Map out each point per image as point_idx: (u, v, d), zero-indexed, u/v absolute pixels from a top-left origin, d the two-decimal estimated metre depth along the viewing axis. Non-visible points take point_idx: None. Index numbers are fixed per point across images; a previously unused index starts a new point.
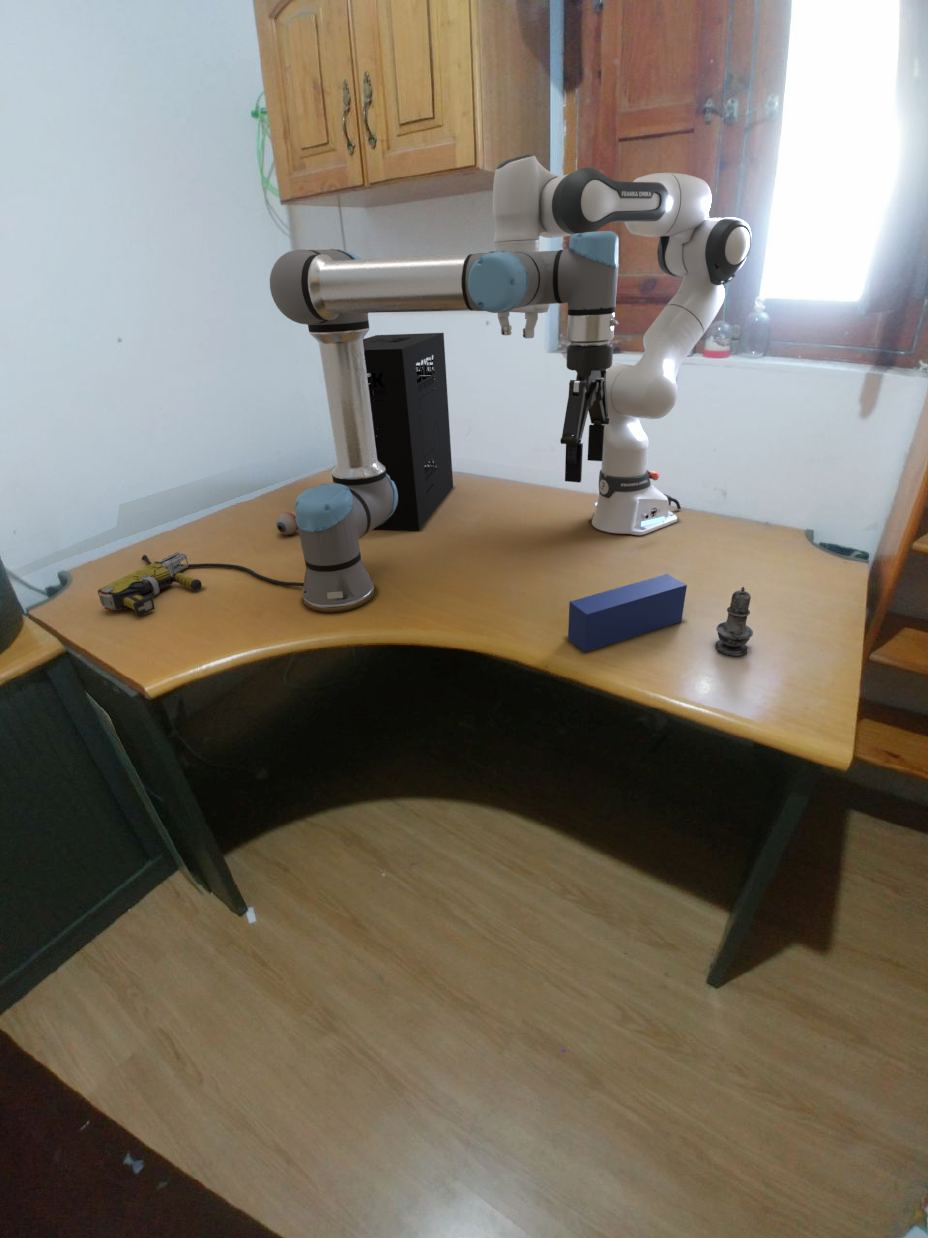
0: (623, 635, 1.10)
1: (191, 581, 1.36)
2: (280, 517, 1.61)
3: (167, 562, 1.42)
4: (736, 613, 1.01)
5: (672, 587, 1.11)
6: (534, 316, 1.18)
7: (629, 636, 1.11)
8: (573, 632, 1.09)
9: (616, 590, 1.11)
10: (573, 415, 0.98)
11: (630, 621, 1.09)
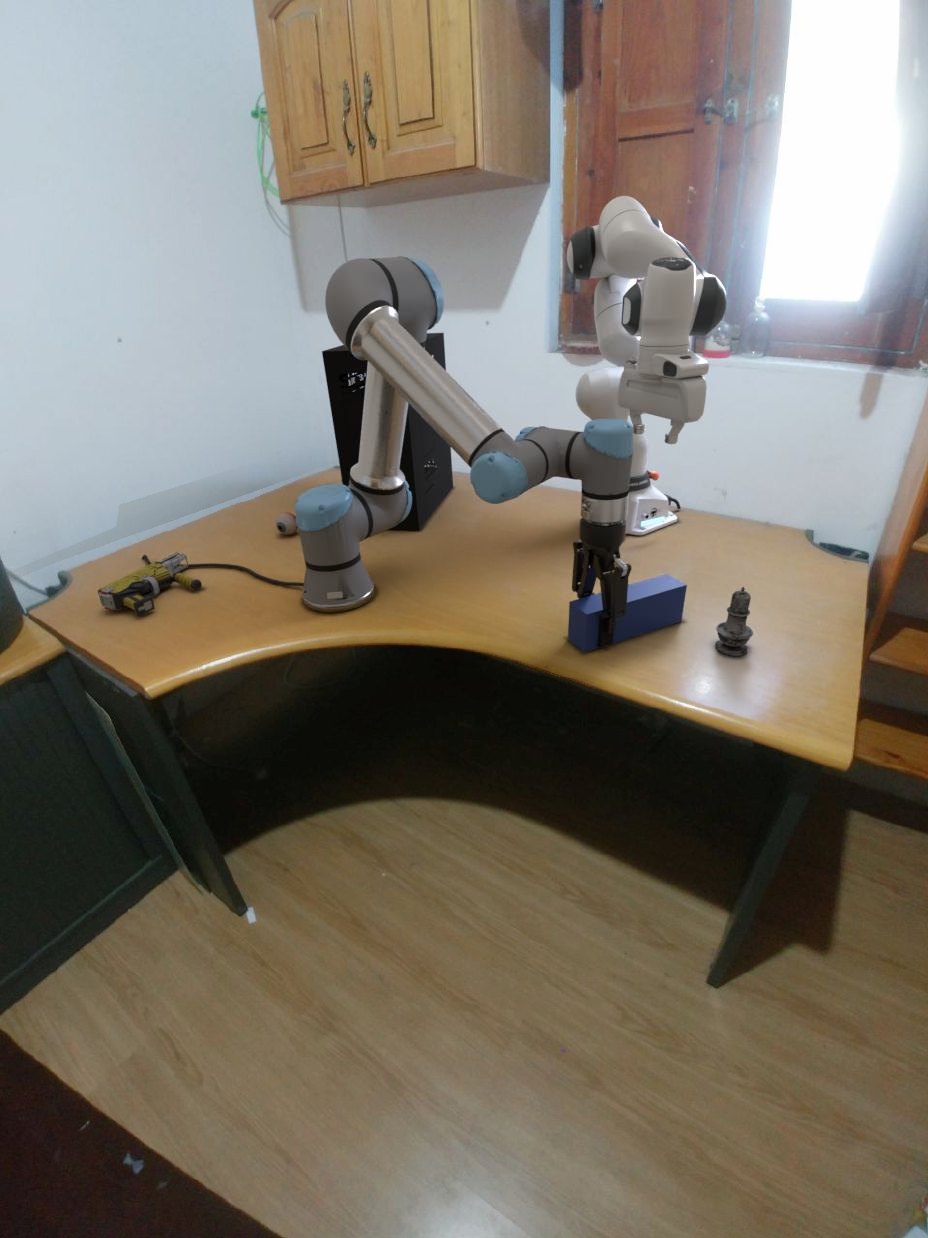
0: (623, 635, 1.10)
1: (191, 581, 1.36)
2: (280, 517, 1.61)
3: (167, 562, 1.42)
4: (736, 613, 1.01)
5: (672, 587, 1.11)
6: None
7: (629, 636, 1.11)
8: (573, 632, 1.09)
9: None
10: None
11: (630, 621, 1.09)
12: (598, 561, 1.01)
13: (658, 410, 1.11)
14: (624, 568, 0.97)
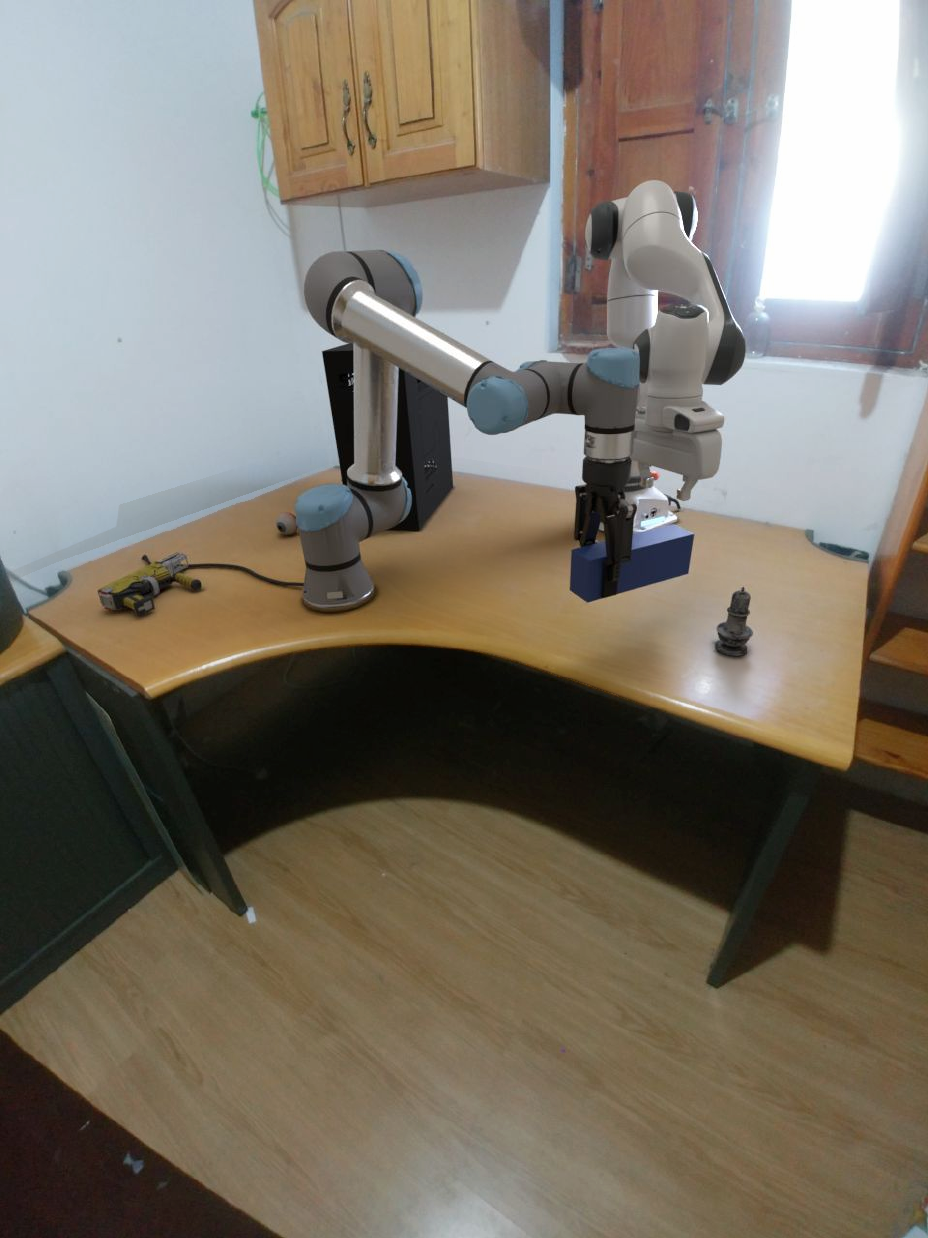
0: (627, 586, 1.05)
1: (191, 581, 1.36)
2: (280, 517, 1.61)
3: (167, 562, 1.42)
4: (736, 613, 1.01)
5: (679, 536, 1.05)
6: None
7: (634, 587, 1.06)
8: (575, 582, 1.04)
9: None
10: None
11: (635, 571, 1.04)
12: (602, 503, 0.95)
13: (669, 464, 1.02)
14: (630, 508, 0.92)
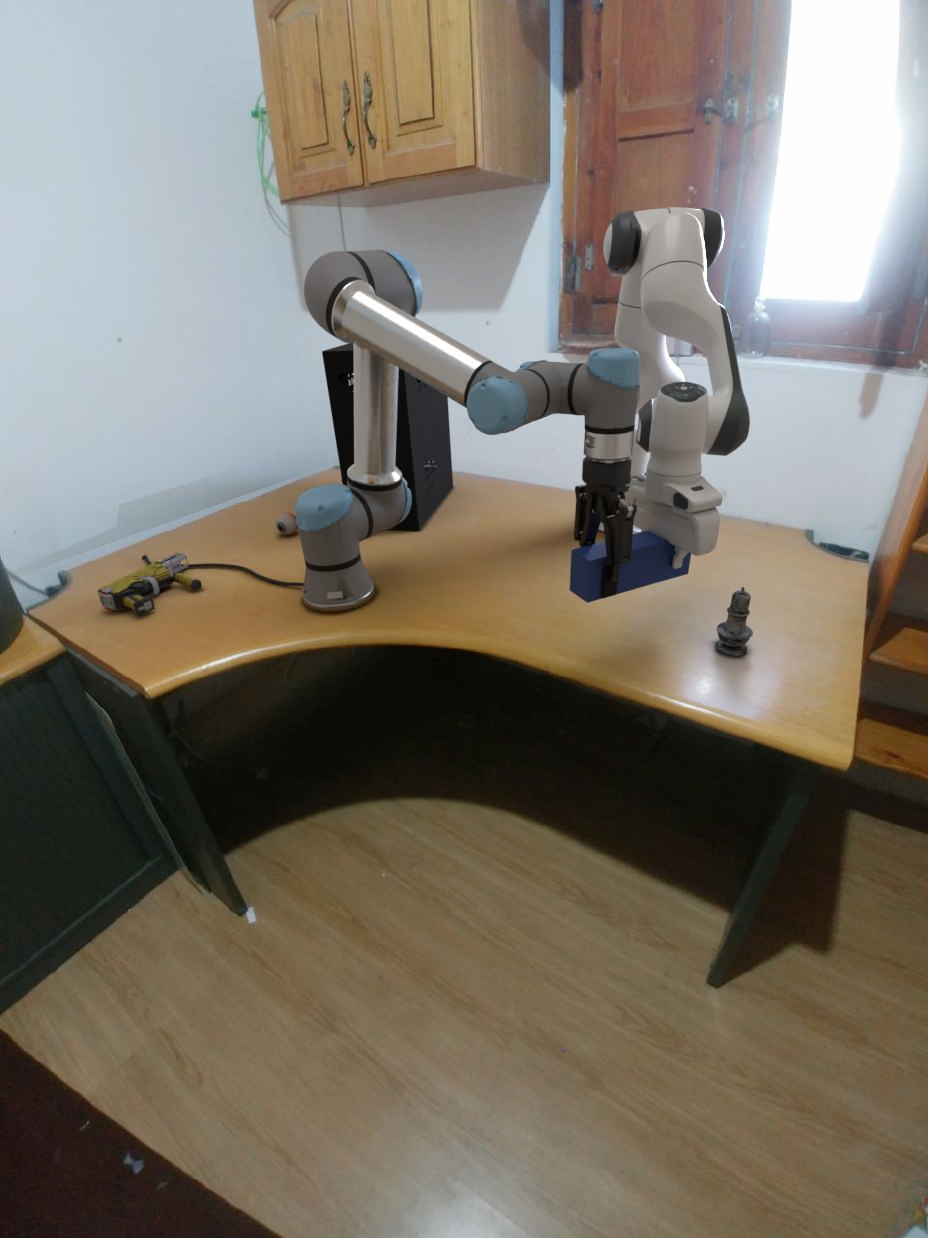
0: (627, 586, 1.05)
1: (191, 581, 1.36)
2: (280, 517, 1.61)
3: (167, 562, 1.42)
4: (736, 613, 1.01)
5: None
6: None
7: (634, 587, 1.06)
8: (575, 582, 1.04)
9: None
10: None
11: (635, 571, 1.04)
12: (602, 503, 0.95)
13: (667, 536, 1.04)
14: (630, 508, 0.92)
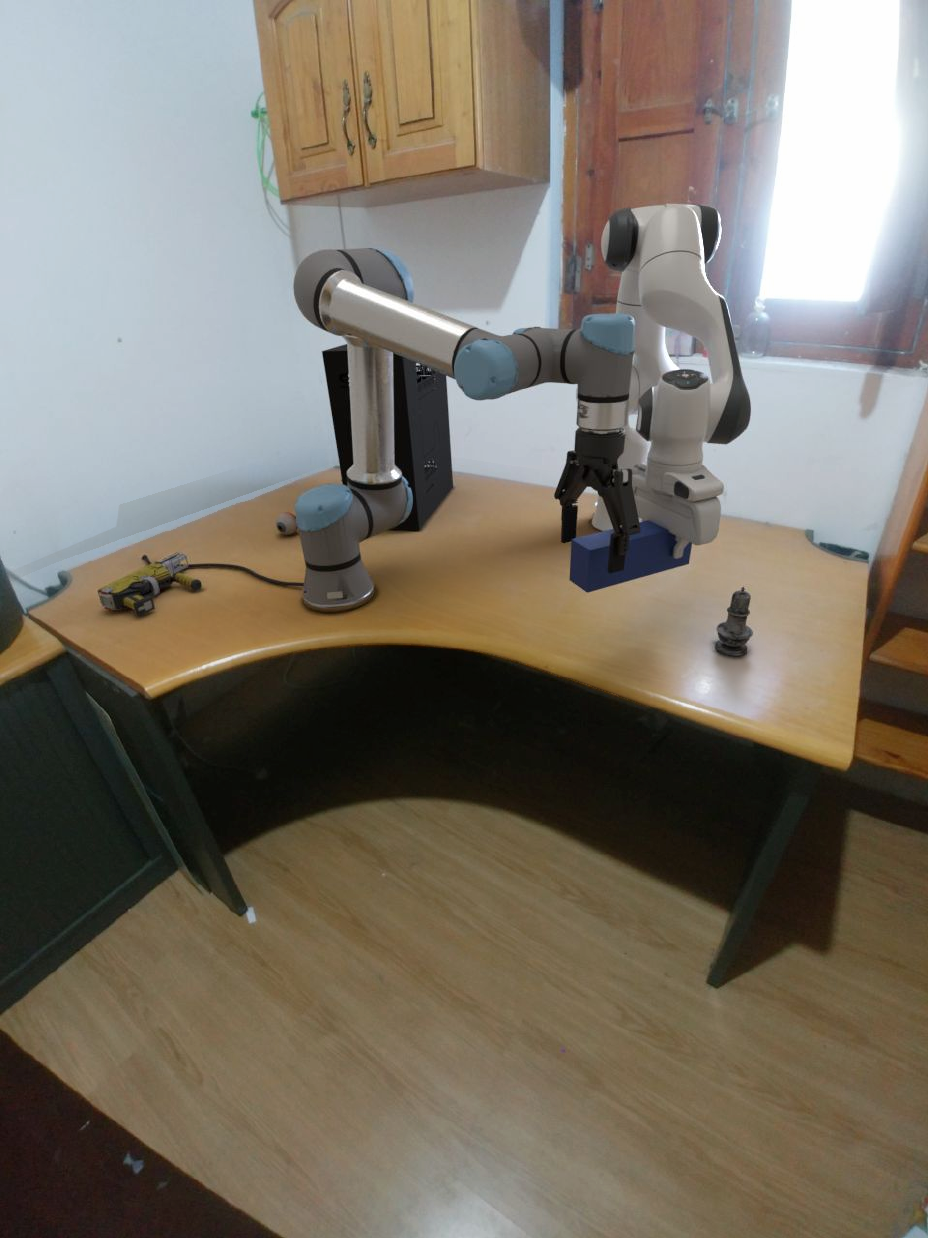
0: (628, 576, 1.04)
1: (191, 581, 1.36)
2: (280, 517, 1.61)
3: (167, 562, 1.42)
4: (736, 613, 1.01)
5: None
6: None
7: (634, 577, 1.05)
8: (575, 572, 1.04)
9: None
10: None
11: (635, 561, 1.03)
12: (594, 476, 0.93)
13: (668, 526, 1.03)
14: (624, 470, 0.89)
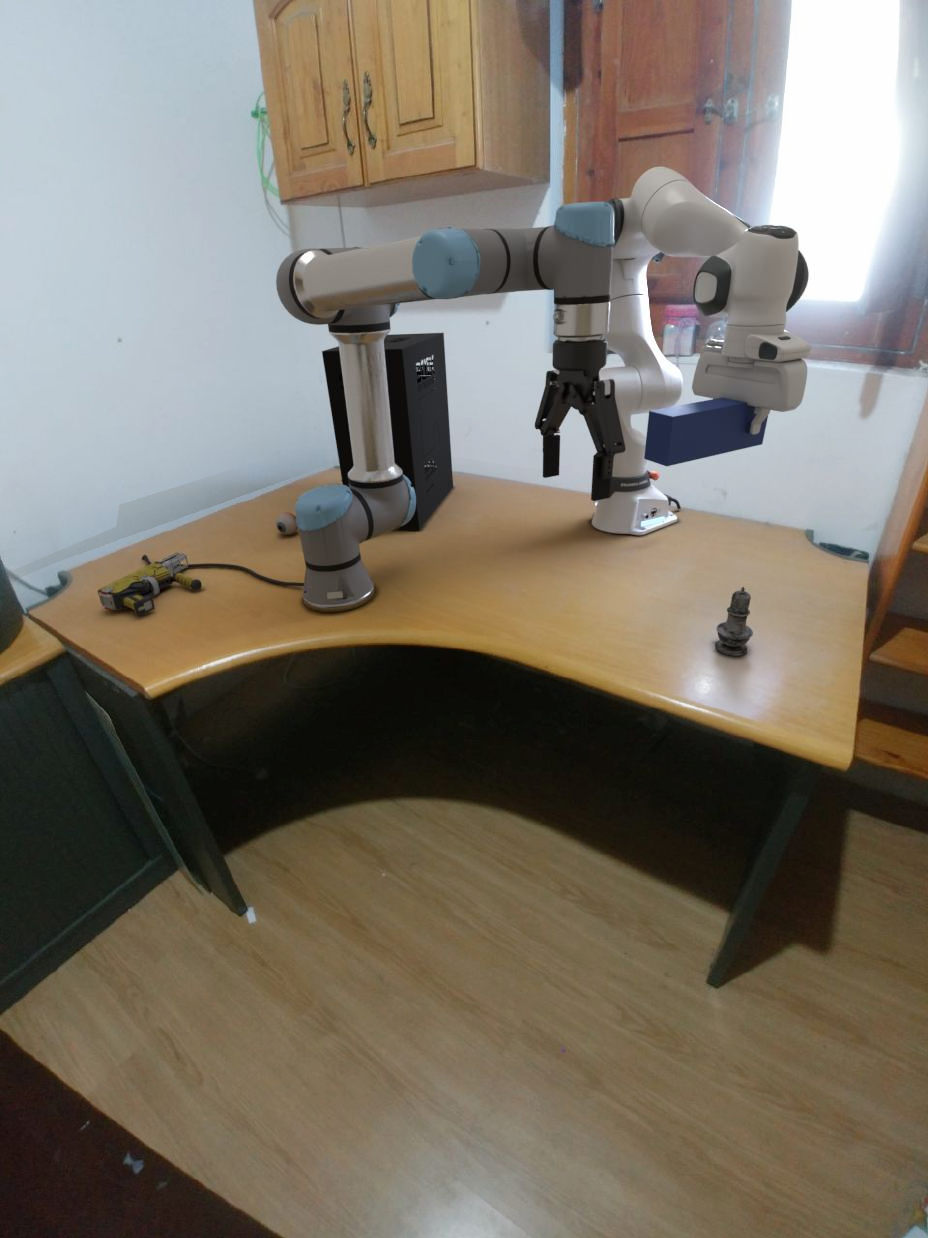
0: (705, 451, 1.01)
1: (191, 581, 1.36)
2: (280, 517, 1.61)
3: (167, 562, 1.42)
4: (736, 613, 1.01)
5: None
6: None
7: (711, 453, 1.01)
8: (652, 447, 1.00)
9: (697, 403, 1.01)
10: None
11: (714, 435, 1.00)
12: (574, 391, 0.85)
13: (747, 398, 1.00)
14: (606, 380, 0.81)
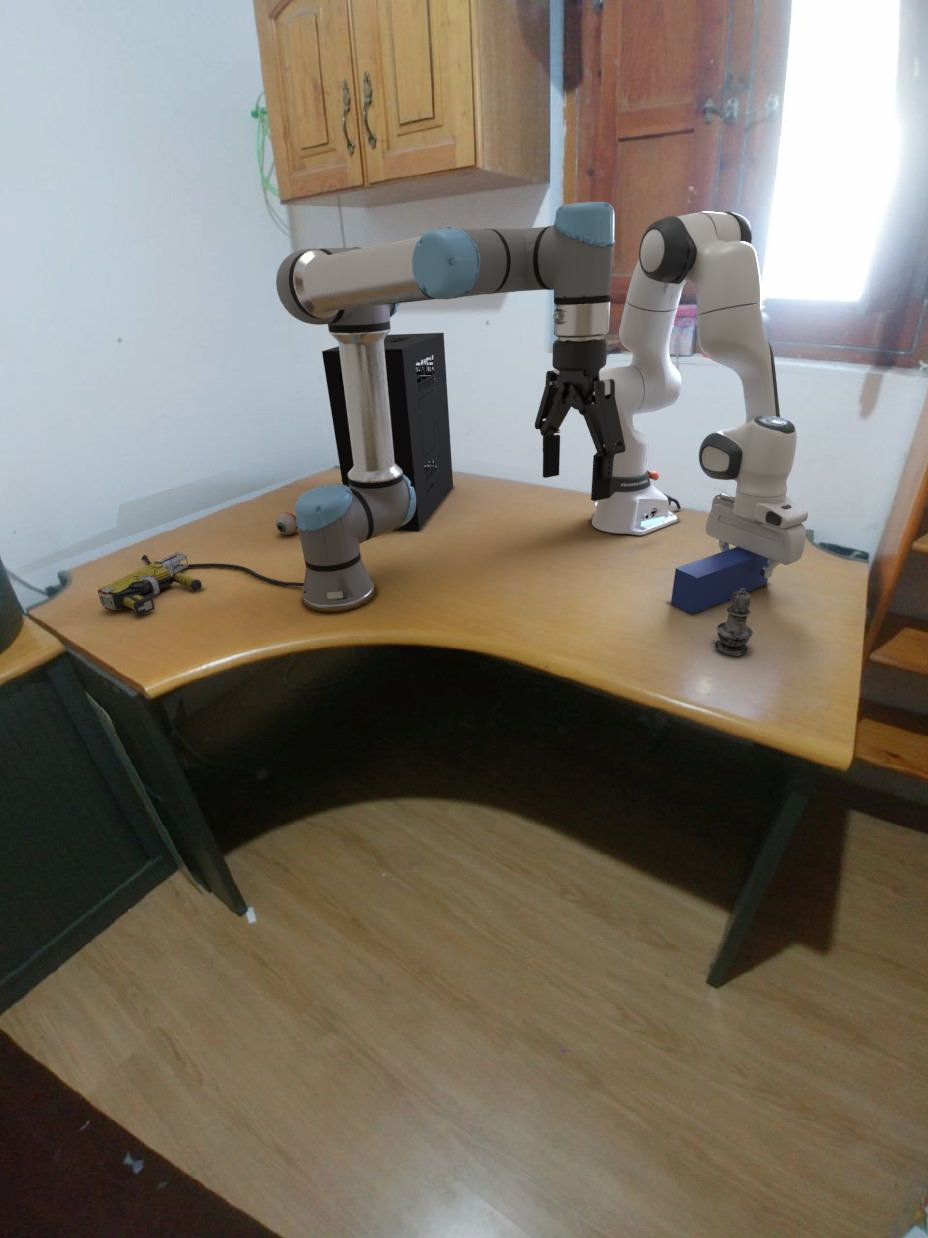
0: (722, 597, 1.20)
1: (191, 581, 1.36)
2: (280, 517, 1.61)
3: (167, 562, 1.42)
4: (736, 613, 1.01)
5: None
6: None
7: (726, 598, 1.21)
8: (678, 596, 1.19)
9: (713, 556, 1.21)
10: None
11: (729, 585, 1.19)
12: (574, 391, 0.85)
13: (755, 548, 1.19)
14: (606, 380, 0.81)
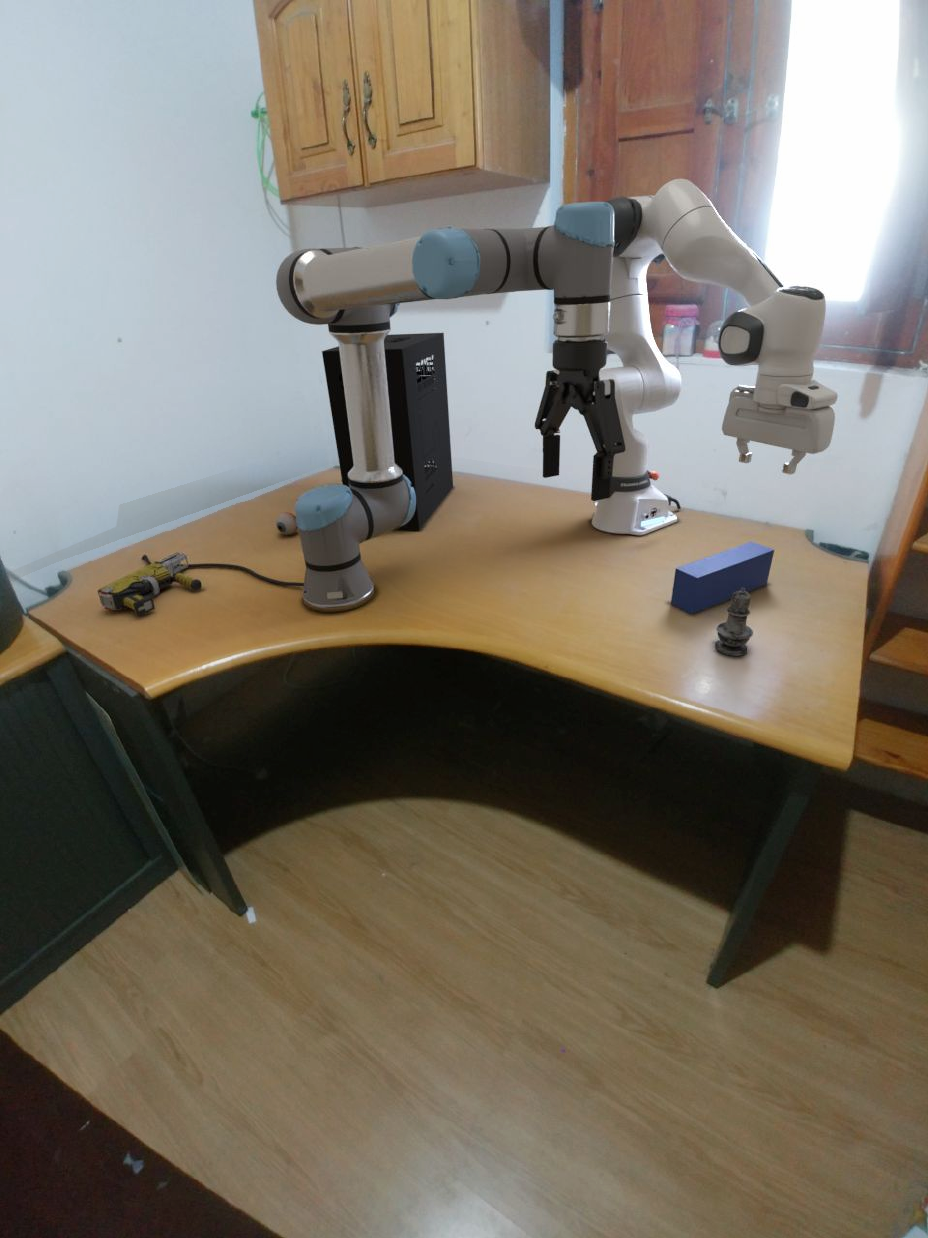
0: (722, 597, 1.20)
1: (191, 581, 1.36)
2: (280, 517, 1.61)
3: (167, 562, 1.42)
4: (736, 613, 1.01)
5: (763, 552, 1.21)
6: None
7: (726, 598, 1.21)
8: (678, 596, 1.19)
9: (713, 556, 1.21)
10: None
11: (729, 585, 1.19)
12: (574, 391, 0.85)
13: (777, 440, 1.08)
14: (606, 380, 0.81)
